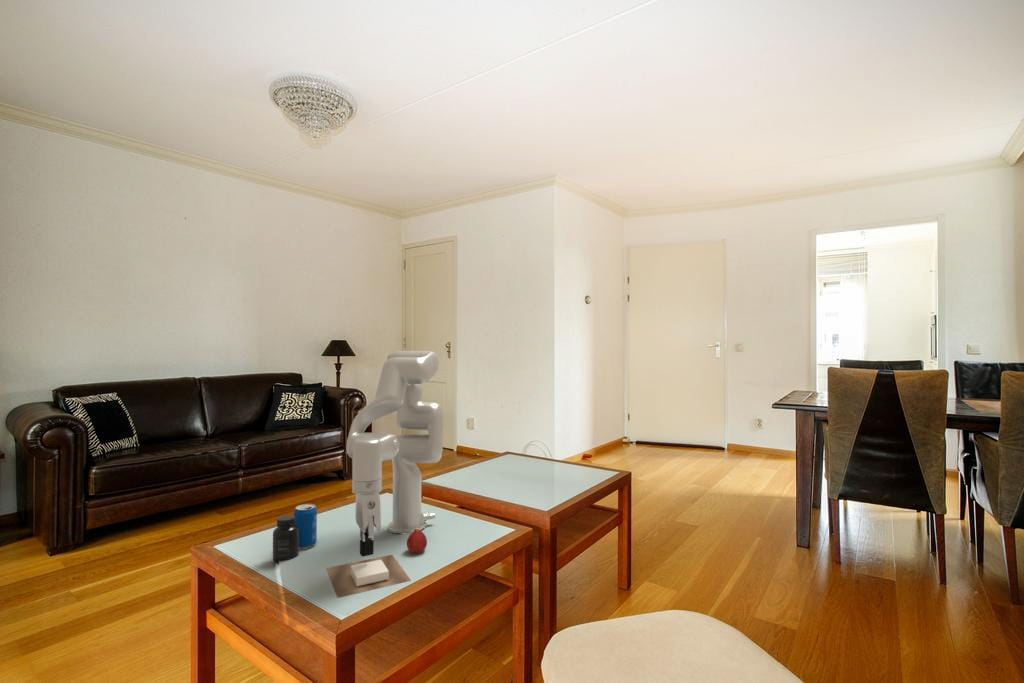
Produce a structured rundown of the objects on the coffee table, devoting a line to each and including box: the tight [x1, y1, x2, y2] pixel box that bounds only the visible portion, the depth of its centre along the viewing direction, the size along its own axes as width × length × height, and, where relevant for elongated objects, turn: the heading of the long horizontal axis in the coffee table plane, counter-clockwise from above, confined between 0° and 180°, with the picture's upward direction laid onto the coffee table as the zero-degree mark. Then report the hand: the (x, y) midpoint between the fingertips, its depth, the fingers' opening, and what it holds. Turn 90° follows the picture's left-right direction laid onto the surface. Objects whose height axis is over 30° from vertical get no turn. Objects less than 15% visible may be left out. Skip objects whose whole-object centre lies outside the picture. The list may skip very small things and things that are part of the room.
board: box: [325, 554, 412, 599], centre depth 128 cm, size 18×18×1 cm
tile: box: [350, 560, 389, 586], centre depth 126 cm, size 8×2×8 cm
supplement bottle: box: [272, 515, 300, 565], centre depth 140 cm, size 7×7×12 cm
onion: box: [406, 528, 428, 554], centre depth 143 cm, size 6×6×8 cm
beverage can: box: [293, 503, 318, 550], centre depth 150 cm, size 6×6×12 cm
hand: (366, 554), depth 129 cm, fingers closed
